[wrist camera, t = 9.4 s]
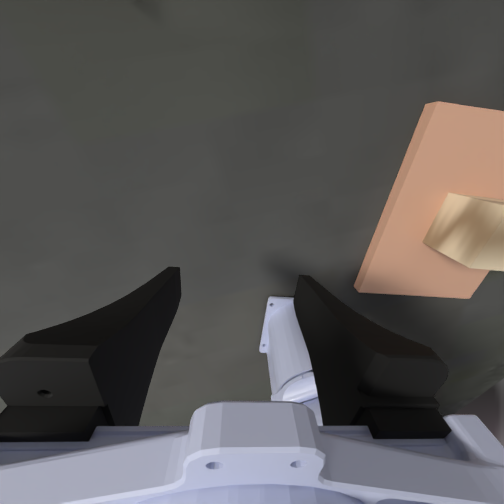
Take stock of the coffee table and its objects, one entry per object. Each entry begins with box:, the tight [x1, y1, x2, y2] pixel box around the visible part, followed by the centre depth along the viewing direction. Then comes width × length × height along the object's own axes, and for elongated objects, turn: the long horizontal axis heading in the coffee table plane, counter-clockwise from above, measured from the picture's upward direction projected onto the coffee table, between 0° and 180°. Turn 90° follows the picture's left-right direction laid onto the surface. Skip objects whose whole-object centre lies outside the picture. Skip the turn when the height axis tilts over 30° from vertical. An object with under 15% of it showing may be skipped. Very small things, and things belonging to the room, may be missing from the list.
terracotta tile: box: [354, 102, 504, 299], centre depth 21 cm, size 18×14×1 cm
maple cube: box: [422, 193, 504, 271], centre depth 18 cm, size 5×5×5 cm
